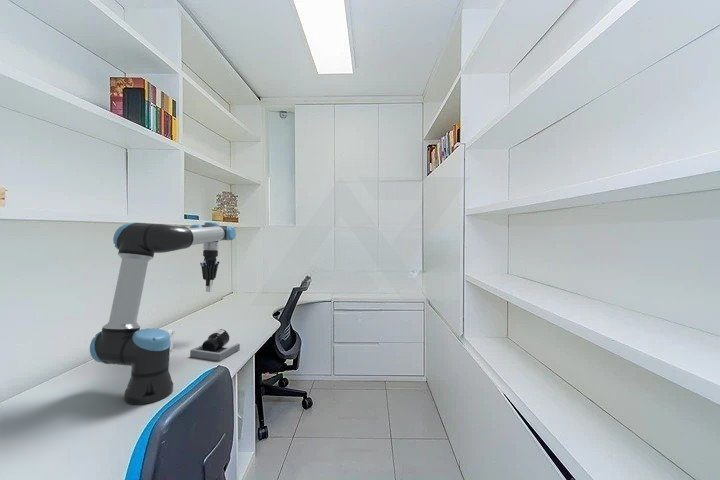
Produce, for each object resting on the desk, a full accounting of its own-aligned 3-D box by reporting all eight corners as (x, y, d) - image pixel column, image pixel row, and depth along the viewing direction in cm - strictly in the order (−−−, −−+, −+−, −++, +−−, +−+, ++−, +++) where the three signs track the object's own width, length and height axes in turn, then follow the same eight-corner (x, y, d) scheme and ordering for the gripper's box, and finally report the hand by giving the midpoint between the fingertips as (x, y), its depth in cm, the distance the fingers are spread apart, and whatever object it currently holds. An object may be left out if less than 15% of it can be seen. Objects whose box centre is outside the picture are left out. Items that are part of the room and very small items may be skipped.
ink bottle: (223, 325, 166) (209, 335, 154) (233, 338, 166) (220, 349, 154) (211, 334, 168) (196, 345, 156) (220, 347, 168) (206, 359, 156)
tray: (219, 361, 148) (219, 354, 148) (190, 357, 151) (190, 350, 151) (239, 350, 163) (239, 343, 163) (212, 346, 167) (212, 340, 167)
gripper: (208, 250, 166) (206, 294, 166) (224, 249, 179) (222, 290, 179) (196, 249, 168) (194, 292, 168) (212, 249, 181) (210, 289, 181)
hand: (208, 291), depth 174 cm, fingers closed
